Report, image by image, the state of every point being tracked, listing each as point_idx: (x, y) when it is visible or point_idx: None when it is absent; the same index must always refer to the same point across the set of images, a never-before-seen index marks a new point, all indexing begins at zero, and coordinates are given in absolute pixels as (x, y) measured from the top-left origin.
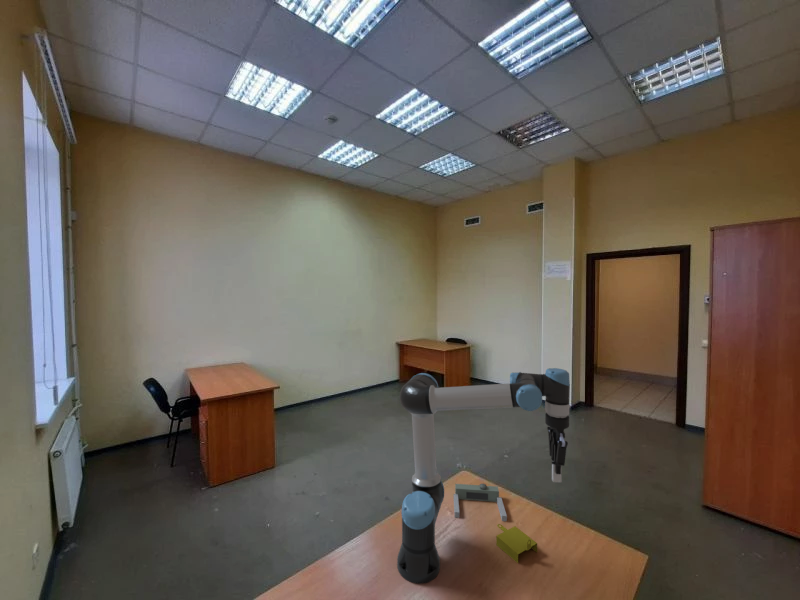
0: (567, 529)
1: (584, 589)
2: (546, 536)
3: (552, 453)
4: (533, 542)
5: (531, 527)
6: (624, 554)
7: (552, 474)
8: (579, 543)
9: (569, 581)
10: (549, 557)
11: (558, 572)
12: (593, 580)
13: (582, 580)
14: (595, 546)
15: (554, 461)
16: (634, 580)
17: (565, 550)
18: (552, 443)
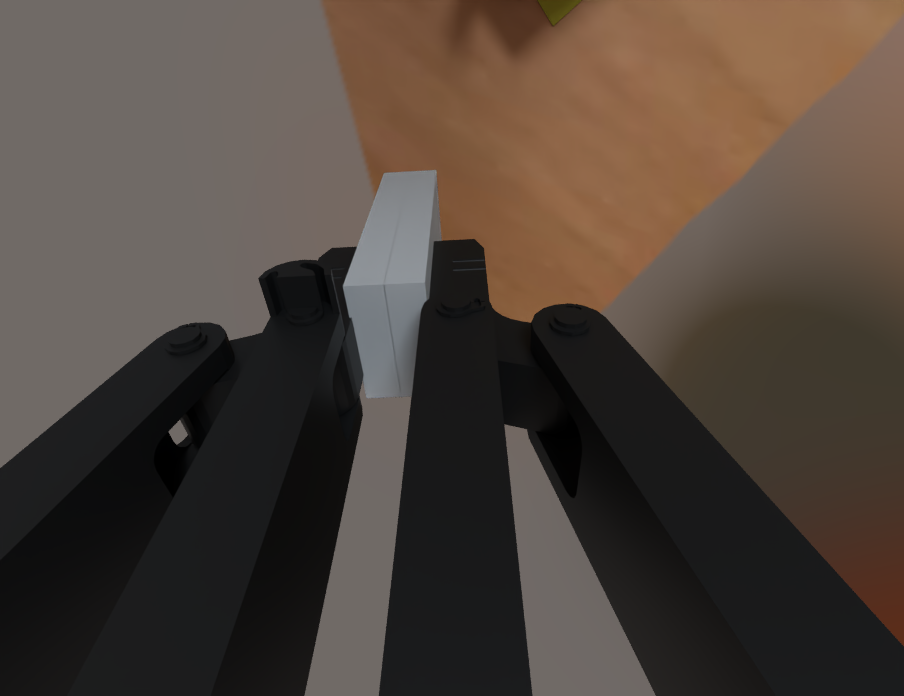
0: (685, 194)
1: (380, 157)
2: (648, 80)
3: (417, 392)
4: None
5: (718, 9)
6: None
7: (405, 198)
8: (603, 216)
9: (403, 110)
10: (518, 57)
11: (440, 76)
12: None
13: (419, 164)
14: (588, 267)
15: (300, 326)
16: None
17: (563, 146)
18: (401, 682)
